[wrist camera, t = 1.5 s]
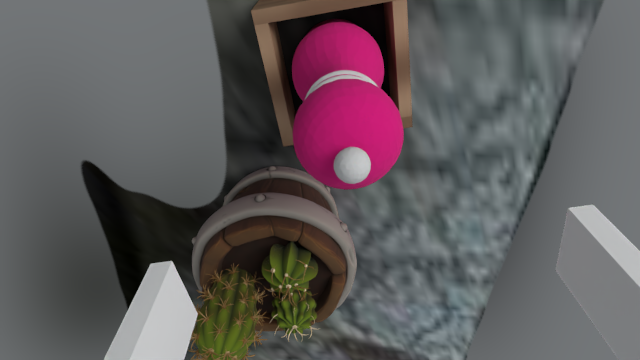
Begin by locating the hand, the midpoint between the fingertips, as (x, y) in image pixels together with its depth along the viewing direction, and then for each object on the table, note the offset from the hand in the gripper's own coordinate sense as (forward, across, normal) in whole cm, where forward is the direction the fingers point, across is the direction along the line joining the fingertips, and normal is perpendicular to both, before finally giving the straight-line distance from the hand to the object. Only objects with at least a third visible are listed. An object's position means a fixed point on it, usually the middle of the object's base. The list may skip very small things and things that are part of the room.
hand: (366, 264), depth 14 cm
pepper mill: (+26, 0, 0) cm, 26 cm away
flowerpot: (+26, -8, -15) cm, 31 cm away
